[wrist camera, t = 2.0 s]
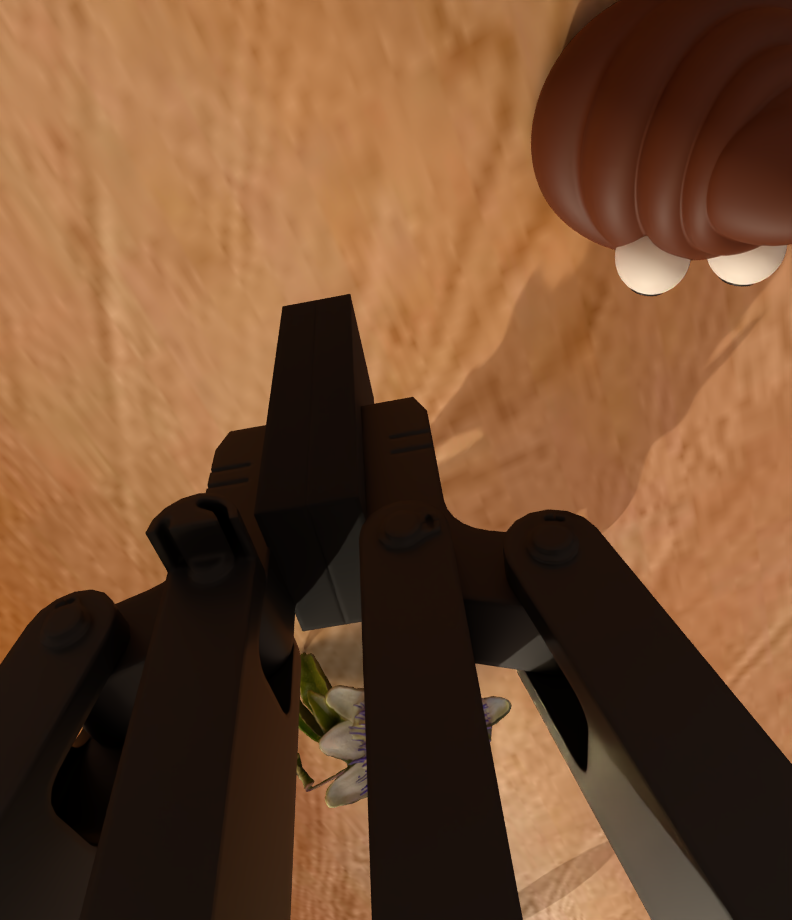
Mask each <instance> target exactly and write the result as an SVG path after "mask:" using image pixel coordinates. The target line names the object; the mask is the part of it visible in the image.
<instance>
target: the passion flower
mask: <svg viewBox="0 0 792 920" xmlns="http://www.w3.org/2000/svg"><path fill="white" fill-rule="evenodd" d="M300 656H301V682H300V695H301V697H302V699H303V703H304V704H305V705H306V706H307V707H308V709H309V710H310V711H311V712H312V713H311V712H310V711H309V710H308V709H307V708H306V707H305V706H304V705H303V704H302V702H301V700H300V705H299V729H300V730H301V731H303V732H304V733H305V734H306V735H307V736H309V737H310V738H311V739H313V740H314V741H316V742H318V743H319V747H320V750H321V751H322V752H323V753H324V754H326V755H327V756H331V757H335V758H337V759H341V760H343V761H345V762H346V763H347V766H348V767H347V768H346V769H344V770H342V771H340V772H338V773H337V774H336V775H334V776H332V777H330V778H328V779H326V780H324V781H323V782H321V783H320V784H318V785H316V786H314V787H312V786H311V785H312V784H313V783H314V780H313V779H312V778H310V776H309V775H308V774H307V772H306V771H305V770H304V769H303V767H302V764H301V760H300V755H299V753H297V775H298V777H299V778H300V780H301V781H302V782H303V785H304V789H305V790H306V791H307V792H308V791H311V790H313V789H315V788H318V787H320V786H322V785H323V784H325V783H327V782H329V781H331V780H333V779H334V778H336V777H337V778H336V779H335V781H334V782H333V783H332V784H331V785H330V786H329V787H328V789H327V791H326V796H325V801H326V804H327V806H328V807H329V808H335V807H337V806H343V805H347V804H353V803H355V802H357V801H359V800H360V799H363V798H366V797H368V792H367V763H366V734H365V705H364V688H357V689H356V688H354V687H348V686H342V685H339V686H334V687H333V688H332V686H331V684H330V683H329V680H328V679H327V677H326V676H325V674H324V672H323V671H322V669H321V666H320V664H319V663H318V661H317V660H316V658H315V656H314V655H313V654H312V653H310V654H306V653H303V654H301V655H300ZM482 703H483V709H484V714H485V720H486V725H487V730H488V736H489V741H490V742H491V732H492V726H493V725H494V724H496V723H498V722H499V721H500V720H501V719H502V718H504V717H505V716H506V715H507V714H508V713H509V711H510V709H511V703H510V702H509V700H507V699H505V698H502V697H495V696H491V697H487V698H482ZM312 714H313V715H312Z"/></svg>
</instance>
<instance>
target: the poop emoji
mask: <svg viewBox="0 0 792 920" xmlns="http://www.w3.org/2000/svg"><path fill="white" fill-rule="evenodd" d="M531 152H532V162H533V167H534V172H535V176H536V179H537V182H538V185H539V187H540V189H541V192H542V194H543V195H544V197H545V199H546V201H547V202H548V204H549V205H550V207H551V208H552V209H553V211H554V212H555V213H556V214H557V215H558V216H559V217H560V218H561V219H562V220H563V221H564V222H565V223H566V224H567V225H568V226H569V227H571V228H572V229H573V230H575V231H576V232H578V233H579V234H581V235H582V236H584V237H586V238H588V239H589V240H591V241H593V242H595V243H598V244H600V245H602V246H605V247H608V248H611V249H614V250H616V251H615V264H616V268H617V271H618V274H619V276H620V277H621V279H622V280H623V282H624V283H625V284H626V285H627V286H628V287H630V289H631V290H632V291H634V292H635V293H637V294H640V295H644V296H657V295H660V294H662V293H664V292H666V291H668V290H670V289H672V288H673V287H675V286H676V285H677V284H678V283H679V282H680V281H681V280H682V279H683V277H684V276H685V274H686V272H687V270H688V268H689V265H690V260H704V259H707V260H708V263H709V265H710V267H711V268H712V270H713V271H714V272H715V273H716V275H718V277H719V278H720V279H721V280H722V281H724V282H725V283H728V284H730V285H734V286H750V285H753V284H754V283H757V282H760V281H762V280H764V279H766V278H767V277H769V276H770V275H771V274H773V273H774V272H775V271H776V270H777V268H778V267H779V266H780V264H781V263H782V261H783V259H784V256H785V253H786V248H787V245H790V244H792V0H620V1H618V2H616V3H615V4H613V5H612V6H610V7H609V8H607V9H606V10H604V11H603V12H602V13H600V14H599V15H598V16H596V17H595V18H594V19H593V20H591V21H590V22H589V23H588V24H587V25H586V26H585V27H584V28H583V29H582V30H581V31H580V32H579V33H578V34H577V35H576V36H575V37H574V38H573V39H572V40H571V42H570V43H569V44H568V45H567V46H566V48H565V49H564V50H563V52H562V53H561V55H560V56H559V57H558V59H557V61H556V62H555V64H554V65H553V67H552V69H551V71H550V73H549V75H548V77H547V79H546V81H545V83H544V85H543V88H542V90H541V93H540V96H539V99H538V102H537V105H536V109H535V114H534V119H533V125H532V135H531Z"/></svg>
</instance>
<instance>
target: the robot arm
mask: <svg viewBox="0 0 792 920" xmlns="http://www.w3.org/2000/svg"><path fill="white" fill-rule="evenodd" d="M211 471H212V473H210V476H209V481H208V489H207V490H206V493H199V494H196V495H192V496H189V497H186V498H182V499H180V500H179V501H177V502H175V503H173V504H171V505H170V506H168V507H166V508H165V509H164V510H163V511H162V512H161V513H160V514H158V515H157V516H156V517H155V518H154V519H153V520H152V522H151V524H150V526H149V528H148V529H147V531H146V535H147V537H148V539H149V540H150V542H151V544H152V545H153V547H154V549H155V551H156V552H157V554H158V556H159V558H160V559H161V561H162V563H163V565H164V566H165V568H166V570H167V572H168V574H167V578H166V581H164V582H163V583H161V584H159V585H157V586H155V587H153V588H152V589H150V590H147V591H145V592H143V593H140V594H138V595H136V596H133V597H131V598H129V599H126V600H124V601H122V602H119V603H117V604H114V602H113V601H112V600H111V599H110V598H109V597H108V596H107V595H106V594H105V593H104V592H99V591H95V590H84V591H77V592H73V593H71V594H68V595H66V596H64V597H61V598H59V599H57V600H55V601H54V602H52V603H51V604H49V605H48V606H47V607H45V608H44V609H42V610H41V611H40V612H39V613H38V614H37V615H36V616H35V617H34V619H33V620H32V621H31V622H30V623H29V624H28V625H27V627H26V628H25V630H24V631H23V632H22V634H21V635H20V637H19V638H18V640H17V641H16V643H15V644H14V645H13V647H12V648H11V650H10V651H9V653H8V654H7V656H6V657H5V658H4V660H3V661H2V663H1V664H0V920H290V914H291V891H292V868H293V844H294V821H295V798H296V775H297V751H298V728H299V705H300V682H301V656H300V651H299V648H298V645H297V643H296V641H295V638H294V621H295V614H296V617H297V619H298V621H299V624H300V626H301V628H302V631H308V630H314V629H320V628H326V627H332V626H338V625H344V624H350V623H357V622H362V646H363V676H364V705H365V734H366V763H367V792H368V821H369V850H370V879H371V908H372V920H523V918H522V913H521V907H520V902H519V897H518V891H517V886H516V881H515V875H514V870H513V864H512V859H511V854H510V848H509V843H508V838H507V832H506V827H505V822H504V816H503V811H502V805H501V800H500V795H499V789H498V784H497V779H496V773H495V768H494V762H493V757H492V752H491V746H490V741H489V736H488V730H487V725H486V720H485V714H484V709H483V703H482V698H481V693H480V687H479V682H478V677H477V671H476V666H475V663H477V664H483V665H490V666H497V667H504V668H510V669H516V670H517V673H518V675H519V676H520V678H521V680H522V682H523V684H524V686H525V687H526V689H527V691H528V693H529V695H530V697H531V699H532V700H533V702H534V704H535V706H536V708H537V710H538V711H539V713H540V715H541V717H542V719H543V721H544V723H545V724H546V726H547V728H548V730H549V732H550V734H551V735H552V737H553V739H554V741H555V743H556V745H557V746H558V748H559V750H560V752H561V754H562V756H563V758H564V759H565V761H566V763H567V765H568V767H569V769H570V770H571V772H572V774H573V776H574V778H575V780H576V781H577V783H578V785H579V787H580V789H581V791H582V793H583V794H584V796H585V798H586V800H587V802H588V804H589V805H590V807H591V809H592V811H593V813H594V815H595V816H596V818H597V820H598V822H599V824H600V826H601V828H602V829H603V831H604V833H605V835H606V837H607V839H608V840H609V842H610V844H611V846H612V848H613V850H614V851H615V853H616V855H617V857H618V859H619V861H620V863H621V864H622V866H623V868H624V870H625V872H626V874H627V875H628V877H629V879H630V881H631V883H632V885H633V887H634V888H635V890H636V892H637V894H638V896H639V898H640V899H641V901H642V903H643V905H644V907H645V909H646V910H647V912H648V914H649V916H650V918H651V920H792V764H791V763H790V761H789V760H788V759H787V758H786V756H785V755H784V754H783V753H782V752H781V750H780V749H779V748H778V747H777V746H776V744H775V743H774V742H773V741H772V740H771V738H770V737H769V736H768V735H767V733H766V732H765V731H764V730H763V729H762V727H761V726H760V725H759V724H758V723H757V721H756V720H755V719H754V718H753V717H752V715H751V714H750V713H749V712H748V710H747V709H746V708H745V707H744V706H743V704H742V703H741V702H740V701H739V700H738V698H737V697H736V696H735V695H734V694H733V692H732V691H731V690H730V689H729V687H728V686H727V685H726V684H725V683H724V681H723V680H722V679H721V678H720V677H719V675H718V674H717V673H716V672H715V670H714V669H713V668H712V667H711V666H710V664H709V663H708V662H707V661H706V660H705V658H704V657H703V656H702V655H701V654H700V652H699V651H698V650H697V649H696V647H695V646H694V645H693V644H692V643H691V641H690V640H689V639H688V638H687V637H686V635H685V634H684V633H683V632H682V631H681V629H680V628H679V627H678V626H677V624H676V623H675V622H674V621H673V620H672V618H671V617H670V616H669V615H668V614H667V612H666V611H665V610H664V609H663V607H662V606H661V605H660V604H659V603H658V601H657V600H656V599H655V598H654V597H653V595H652V594H651V593H650V592H649V591H648V589H647V588H646V587H645V586H644V584H643V583H642V582H641V581H640V580H639V578H638V577H637V576H636V575H635V574H634V572H633V571H632V570H631V569H630V568H629V566H628V565H627V564H626V563H625V561H624V560H623V559H622V558H621V557H620V555H619V554H618V553H617V552H616V551H615V549H614V548H613V547H612V546H611V545H610V543H609V542H608V541H607V540H606V538H605V537H604V536H603V535H602V534H601V532H600V531H599V530H598V529H597V528H596V527H595V526H594V525H593V524H591V523H590V522H589V521H588V520H587V519H585V518H584V517H582V516H579V515H576V514H574V513H571V512H568V511H561V510H543V511H538V512H533V513H529V514H527V515H526V516H524V517H522V518H520V519H518V520H516V521H515V522H514V523H513V525H512V526H511V527H510V528H509V529H508V531H507V532H499V531H488V530H483V529H477V528H473V527H471V526H468V525H466V524H463V523H462V522H460V521H459V520H457V519H456V518H455V517H453V515H452V514H451V513H450V512H449V511H448V509H447V507H446V504H445V502H444V498H443V493H442V488H441V482H440V477H439V472H438V466H437V461H436V456H435V451H434V446H433V440H432V435H431V430H430V424H429V419H428V414H427V410H426V409H425V408H424V407H423V406H422V405H421V404H420V403H419V402H418V401H417V400H416V399H415V398H414V397H410V398H404V399H399V400H393V401H387V402H382V403H376V404H374V397H373V393H372V388H371V384H370V379H369V375H368V370H367V366H366V362H365V357H364V353H363V348H362V344H361V339H360V335H359V331H358V326H357V322H356V317H355V313H354V308H353V304H352V300H351V295H350V294H347V295H341V296H336V297H331V298H325V299H320V300H315V301H309V302H304V303H299V304H293V305H288V306H283V307H282V314H281V322H280V329H279V336H278V343H277V350H276V358H275V365H274V372H273V379H272V386H271V394H270V401H269V408H268V415H267V422H266V425H264V426H258V427H253V428H247V429H242V430H236V431H231V432H229V433H228V435H227V436H226V437H225V439H224V440H223V441H222V443H221V444H220V445H219V446H218V448H217V449H216V450H215V455H214V459H213V463H212V468H211ZM82 727H83V729H82V731H81V733H80V734H79V732H80V730H81V728H82ZM78 734H79V736H78V737H77V735H78ZM76 737H77V738H76Z"/></svg>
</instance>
